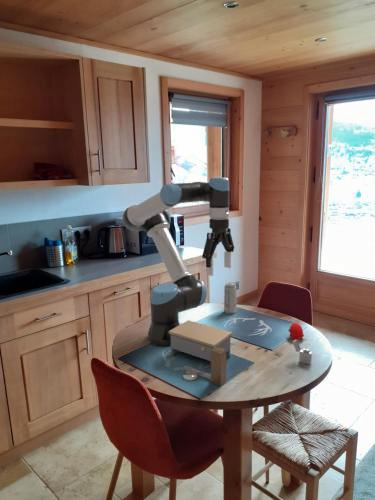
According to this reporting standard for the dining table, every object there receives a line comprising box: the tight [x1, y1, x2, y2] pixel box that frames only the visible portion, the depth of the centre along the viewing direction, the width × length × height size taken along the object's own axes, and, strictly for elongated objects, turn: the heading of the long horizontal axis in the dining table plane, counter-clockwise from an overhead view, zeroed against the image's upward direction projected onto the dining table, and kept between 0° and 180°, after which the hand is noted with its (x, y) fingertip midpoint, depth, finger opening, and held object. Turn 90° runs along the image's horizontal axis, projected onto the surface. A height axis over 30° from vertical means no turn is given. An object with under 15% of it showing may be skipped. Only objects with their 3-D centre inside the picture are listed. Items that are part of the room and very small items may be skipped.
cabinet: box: [169, 319, 233, 362], centre depth 149 cm, size 21×14×10 cm, turn 54°
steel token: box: [182, 371, 198, 382], centre depth 136 cm, size 5×5×1 cm
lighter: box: [292, 340, 313, 365], centre depth 145 cm, size 7×2×8 cm, turn 58°
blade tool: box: [183, 346, 227, 387], centre depth 135 cm, size 16×4×12 cm, turn 54°
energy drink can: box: [223, 282, 237, 315], centre depth 193 cm, size 6×6×15 cm
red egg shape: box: [288, 322, 305, 342], centre depth 164 cm, size 8×6×6 cm
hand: (218, 271), depth 153 cm, fingers open, 13 cm apart
